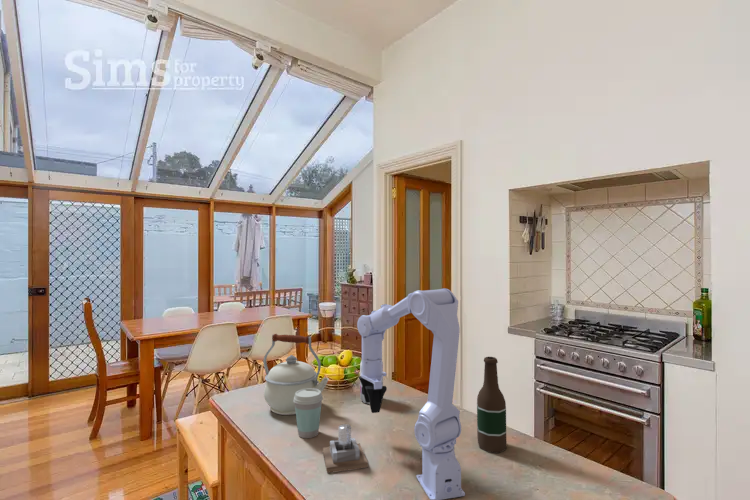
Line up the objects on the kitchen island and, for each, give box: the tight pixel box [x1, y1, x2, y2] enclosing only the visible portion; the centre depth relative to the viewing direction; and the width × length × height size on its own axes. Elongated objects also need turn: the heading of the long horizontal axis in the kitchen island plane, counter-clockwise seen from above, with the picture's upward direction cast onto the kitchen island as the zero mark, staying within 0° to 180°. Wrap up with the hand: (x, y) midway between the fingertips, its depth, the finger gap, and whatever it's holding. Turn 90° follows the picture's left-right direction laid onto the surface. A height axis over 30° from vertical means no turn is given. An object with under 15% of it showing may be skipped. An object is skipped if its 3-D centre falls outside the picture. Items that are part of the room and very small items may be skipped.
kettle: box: [262, 333, 330, 416], centre depth 133 cm, size 25×18×25 cm
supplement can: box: [359, 360, 384, 405], centre depth 139 cm, size 8×8×15 cm
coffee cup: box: [293, 388, 324, 439], centre depth 113 cm, size 8×8×12 cm
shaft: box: [337, 423, 352, 451], centre depth 98 cm, size 3×3×7 cm
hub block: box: [322, 437, 369, 474], centre depth 98 cm, size 10×10×4 cm
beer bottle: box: [476, 356, 507, 454], centre depth 105 cm, size 8×8×24 cm
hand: (372, 406), depth 107 cm, fingers open, 7 cm apart
